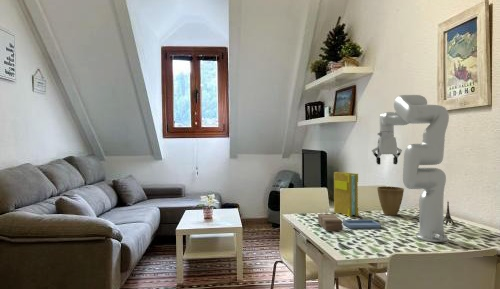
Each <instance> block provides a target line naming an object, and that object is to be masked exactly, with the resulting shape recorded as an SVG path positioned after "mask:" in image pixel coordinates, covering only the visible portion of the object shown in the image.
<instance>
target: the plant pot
mask: <svg viewBox="0 0 500 289" xmlns="http://www.w3.org/2000/svg"><path fill="white" fill-rule="evenodd" d="M376 189H377V194H378V199H379V204H380V207H381V210H382V212H383V215H384V216H385V215H386V216H390V217H391V216H393V217H394V216H397V215H398V214H399V211H400V208H401V206H402V205H401V204H402V202H403V196H404V192H405V188H404V187H398V186H387V185H385V186H377V188H376Z"/></svg>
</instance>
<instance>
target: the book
mask: <svg viewBox="0 0 500 289" xmlns="http://www.w3.org/2000/svg"><path fill="white" fill-rule="evenodd" d="M358 184H359V173H351V172H345V171H334V172H333V200H334V201H333V205H334V206H333V212H334V213H335V214H338V213H342V214H345V215H347V216H352V217H353V215H355V216H354V217H359V207H358V205H359V201H358V199H359V198H358V195H359V193H358V191H359V188H358ZM345 215H344V216H345ZM347 216H346V217H347Z"/></svg>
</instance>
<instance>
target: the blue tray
mask: <svg viewBox="0 0 500 289" xmlns="http://www.w3.org/2000/svg"><path fill="white" fill-rule="evenodd" d="M342 225H343V226H345V227H346V228H347V229H349V230H368V229H369V230H374V229H375V230H376V229H377V230H379V229H382V224H381V223H379V222H377V221H375V220H373V219H343V220H342Z"/></svg>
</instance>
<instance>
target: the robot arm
mask: <svg viewBox="0 0 500 289" xmlns="http://www.w3.org/2000/svg"><path fill="white" fill-rule="evenodd" d="M393 108H394V111H387V112H384V113H381V114H380V115H379V132H377V136H379V137H378V141H377V147H375V148H373V149H371V152H372V155H373V156H374V157H375V159H376V160H375V161H376V164H377V165H378V166H379V165H381V156H382V155H392V156H393V162H392V163H393V165H398V161H399V160H398V158H399V156H401V154H402V153H403V149H401V148H399V147H398V146H397V143H398V142H397V137H396V136H395V132H394V131H395V130H394V129H395V126H407V125H409V124H411V125H414V124H415V125H417V124H421V125H422V124H423V125H424V124H429V125H427V127H426V128H425V129H424V132H423V134H422V142H421V143H412V144H411V143H410V144H409V145H408V146H406V148H405V150H404V153H403V164H402V165H403V166H402V167H403V168H402V183H403V185H404V187H405V188H406V189H408V190H422V192H421V194H420V195H419V198H418V199H419V200H418V201H419V204H418V206H419V210H418V211H419V214H418V215H419V218H418V219H419V232H418V233H416V234H415V237H416V239H419V240H421V241H427V242H431V243H432V242H433V243H442V242H447V241H449V237H448V236H447V235H445V230H444V228H445V227H444V226H445V225H444V218H445V216H444V193H445V188H446V187H445V186H446V181H447V176H446V175H447V174H446V173H445V172H444V171H443V170H442V169H440V168H437V167H420V166H436V165H440V164H441V163H443V160H444V154H445V141H446V140H445V138H446V131H447V128H448V125H449V122H450V120H449V119H450V115H449V111H448V110H447V108H446V107H445V106H443V105H439V104H428V100H427V99H426V97H425V96H423V95H420V94H400V95H398V96H397V97H395V99H394V102H393Z"/></svg>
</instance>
